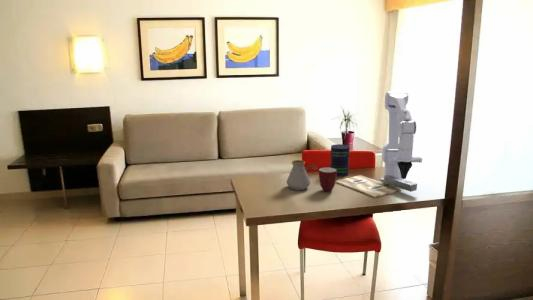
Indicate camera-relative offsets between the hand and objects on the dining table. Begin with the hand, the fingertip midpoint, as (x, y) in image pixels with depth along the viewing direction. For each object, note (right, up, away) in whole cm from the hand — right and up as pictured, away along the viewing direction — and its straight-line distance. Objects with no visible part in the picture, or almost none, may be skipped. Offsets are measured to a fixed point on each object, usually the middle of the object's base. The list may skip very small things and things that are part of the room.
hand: (403, 178), depth 173 cm
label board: (-12, -5, +15) cm, 20 cm away
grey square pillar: (0, -5, +8) cm, 9 cm away
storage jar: (-22, 0, +36) cm, 42 cm away
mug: (-32, -7, +9) cm, 34 cm away
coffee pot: (-43, -7, +10) cm, 45 cm away
